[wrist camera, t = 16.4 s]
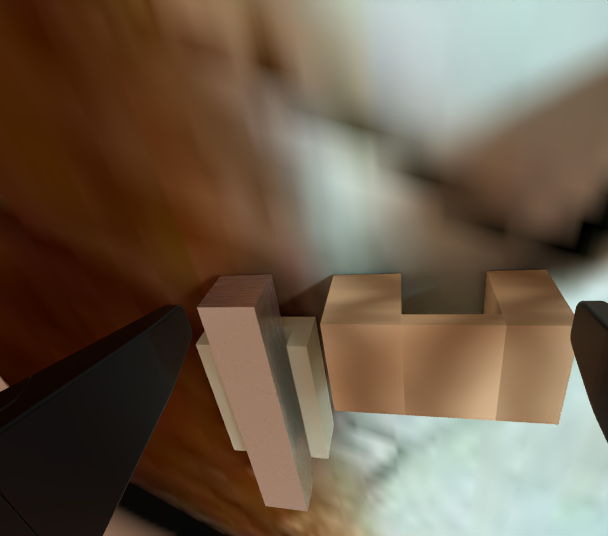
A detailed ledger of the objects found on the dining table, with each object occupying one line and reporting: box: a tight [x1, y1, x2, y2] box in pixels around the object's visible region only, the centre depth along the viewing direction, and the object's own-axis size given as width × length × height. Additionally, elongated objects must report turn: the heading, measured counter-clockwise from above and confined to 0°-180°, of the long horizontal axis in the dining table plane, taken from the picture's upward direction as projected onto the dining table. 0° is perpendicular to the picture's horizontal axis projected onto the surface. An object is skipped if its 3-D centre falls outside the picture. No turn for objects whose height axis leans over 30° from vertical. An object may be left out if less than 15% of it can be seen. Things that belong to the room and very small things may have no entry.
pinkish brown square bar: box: [197, 274, 315, 511], centre depth 26 cm, size 18×3×3 cm, turn 9°
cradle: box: [196, 317, 334, 459], centre depth 27 cm, size 7×10×3 cm
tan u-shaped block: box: [320, 270, 574, 424], centre depth 21 cm, size 11×6×5 cm, turn 99°
